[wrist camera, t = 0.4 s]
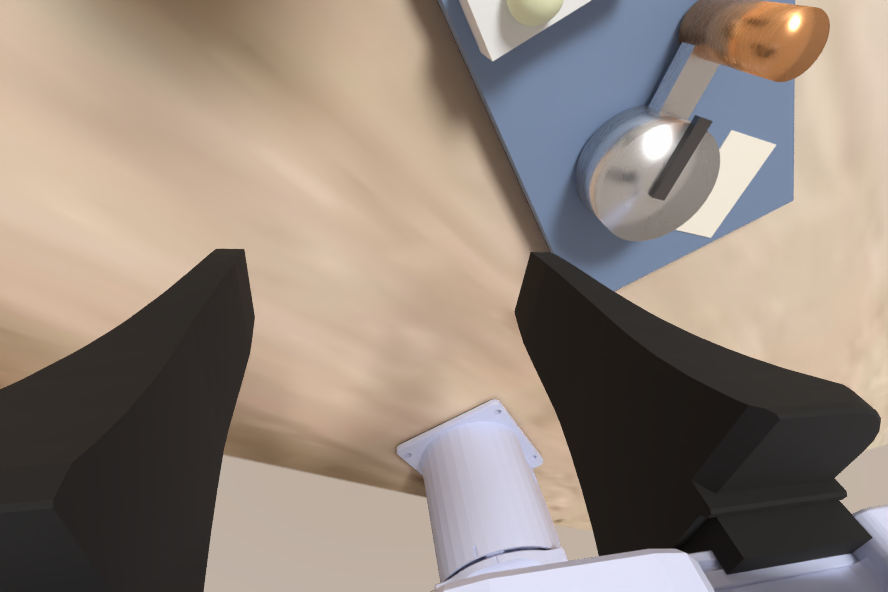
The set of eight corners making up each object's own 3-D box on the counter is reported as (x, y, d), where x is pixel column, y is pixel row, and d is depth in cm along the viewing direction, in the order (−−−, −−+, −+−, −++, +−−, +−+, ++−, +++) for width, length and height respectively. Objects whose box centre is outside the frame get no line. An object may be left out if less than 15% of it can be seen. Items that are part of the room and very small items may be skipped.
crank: (645, 224, 22) (701, 274, 19) (556, 204, 21) (600, 256, 17) (769, 17, 17) (876, 35, 14) (667, -29, 16) (758, -22, 12)
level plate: (775, 190, 24) (842, 227, 21) (570, 296, 26) (602, 345, 23) (765, -295, 13) (900, -371, 10) (413, -54, 15) (433, -53, 12)
